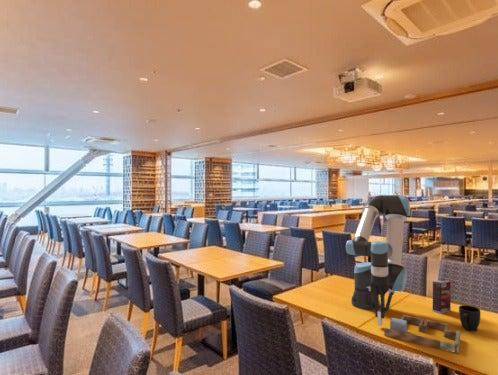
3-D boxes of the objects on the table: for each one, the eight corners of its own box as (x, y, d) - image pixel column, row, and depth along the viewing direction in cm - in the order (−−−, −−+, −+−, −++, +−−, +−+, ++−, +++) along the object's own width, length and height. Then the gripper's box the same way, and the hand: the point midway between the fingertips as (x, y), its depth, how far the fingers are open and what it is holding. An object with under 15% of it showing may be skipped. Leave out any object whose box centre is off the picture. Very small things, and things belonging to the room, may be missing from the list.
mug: (453, 331, 147) (453, 310, 147) (462, 323, 155) (462, 303, 155) (475, 337, 141) (474, 315, 141) (482, 329, 148) (482, 308, 148)
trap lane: (384, 335, 143) (384, 327, 143) (394, 318, 161) (394, 311, 161) (458, 353, 127) (458, 344, 127) (460, 333, 145) (460, 325, 144)
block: (390, 333, 146) (390, 322, 146) (393, 328, 151) (392, 317, 151) (404, 336, 142) (404, 325, 142) (407, 331, 147) (407, 320, 147)
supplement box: (441, 314, 166) (440, 283, 166) (432, 310, 170) (431, 281, 170) (451, 311, 170) (451, 281, 170) (442, 308, 174) (442, 278, 174)
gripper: (363, 274, 152) (363, 324, 152) (392, 278, 144) (392, 331, 144) (367, 270, 158) (368, 318, 158) (396, 275, 150) (396, 325, 150)
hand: (379, 324), depth 151 cm, fingers closed
